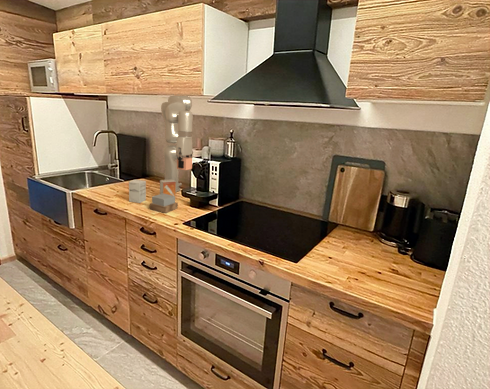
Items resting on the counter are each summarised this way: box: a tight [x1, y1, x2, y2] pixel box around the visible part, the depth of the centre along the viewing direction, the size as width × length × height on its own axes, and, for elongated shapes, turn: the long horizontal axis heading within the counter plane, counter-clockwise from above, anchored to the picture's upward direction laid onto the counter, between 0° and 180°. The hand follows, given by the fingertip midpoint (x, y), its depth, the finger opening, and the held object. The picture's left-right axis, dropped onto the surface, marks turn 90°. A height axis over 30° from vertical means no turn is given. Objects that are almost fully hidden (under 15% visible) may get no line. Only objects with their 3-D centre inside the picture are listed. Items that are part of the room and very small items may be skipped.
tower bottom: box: [149, 201, 178, 214], centre depth 172 cm, size 11×11×4 cm
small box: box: [159, 179, 177, 197], centre depth 186 cm, size 8×6×13 cm
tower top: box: [151, 193, 176, 206], centre depth 171 cm, size 9×9×4 cm
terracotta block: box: [176, 157, 193, 171], centre depth 167 cm, size 6×6×6 cm
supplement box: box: [128, 179, 147, 204], centre depth 181 cm, size 7×7×13 cm
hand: (184, 166), depth 167 cm, fingers closed on terracotta block, 6 cm apart
